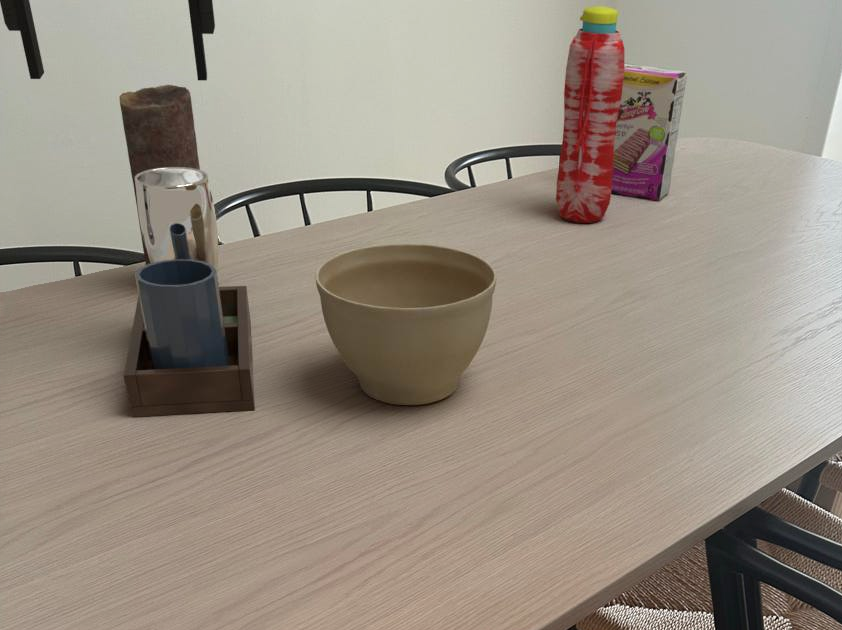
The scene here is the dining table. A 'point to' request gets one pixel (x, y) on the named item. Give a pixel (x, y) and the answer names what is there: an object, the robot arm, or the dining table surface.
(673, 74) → the candy bar box
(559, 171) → the water bottle
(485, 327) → the planter bowl
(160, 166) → the candle
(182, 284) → the tumbler
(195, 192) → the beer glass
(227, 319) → the glass rack
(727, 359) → the dining table surface
